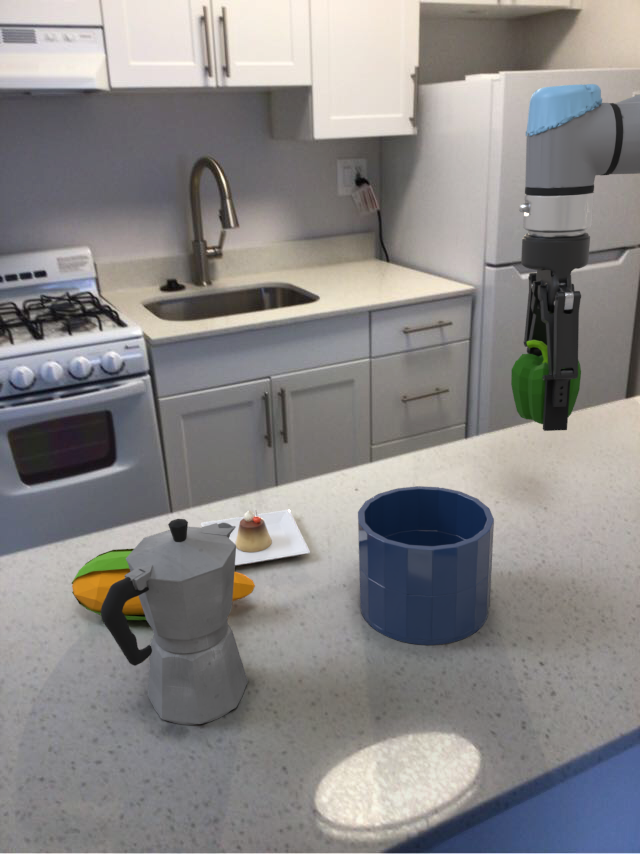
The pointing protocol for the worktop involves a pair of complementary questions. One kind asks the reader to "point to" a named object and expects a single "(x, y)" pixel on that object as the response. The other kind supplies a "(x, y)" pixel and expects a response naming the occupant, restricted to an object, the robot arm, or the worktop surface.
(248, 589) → the corn
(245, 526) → the dessert
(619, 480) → the worktop surface
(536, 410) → the bell pepper
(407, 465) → the worktop surface
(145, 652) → the coffeepot
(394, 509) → the pot
